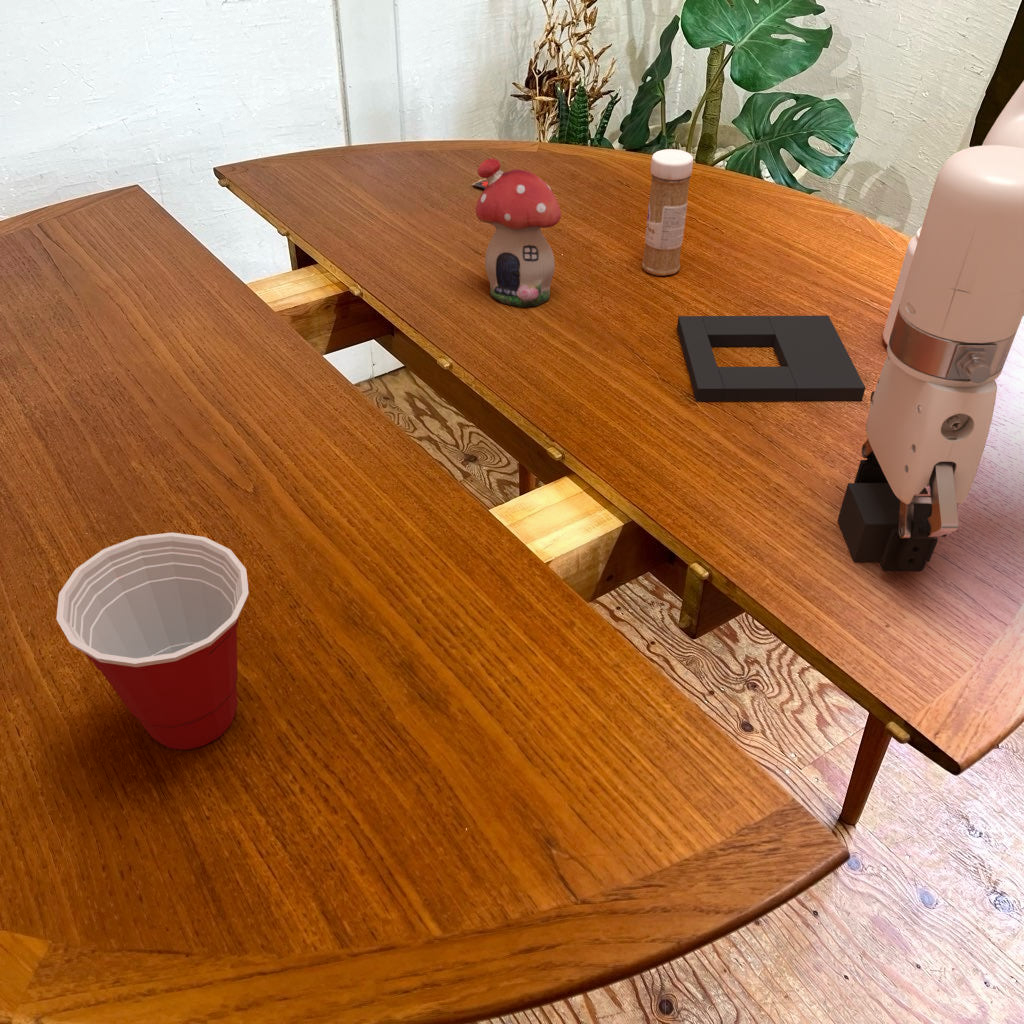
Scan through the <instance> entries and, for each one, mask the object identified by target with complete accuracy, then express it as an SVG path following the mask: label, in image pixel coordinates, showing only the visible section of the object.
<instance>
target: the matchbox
mask: <svg viewBox="0 0 1024 1024" xmlns="http://www.w3.org/2000/svg"><path fill="white" fill-rule="evenodd" d="M487 184H488V181H487V179H485V178H483V179H479V180H478V181H476V182H473V183H472V184H471V185H470V187H473V186H477V187H479V188H482V189H485V188H486V186H487Z"/></svg>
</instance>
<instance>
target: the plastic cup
mask: <svg viewBox="0 0 1024 1024" xmlns="http://www.w3.org/2000/svg"><path fill="white" fill-rule="evenodd" d="M249 593H250V592H249V582H248V574H247V568H246V567H245V565H244V564H243V563H242V562H241V560H239V558H238V557H237V556H236V554H235V553H234V552H233V550H232V549H231V548H229V547H226V546H224V545H222V544H220V543H218V542H217V541H214V540H212V539H210V538H208V537H206V536H203V535H202V536H201V535H193V534H186V533H179V532H164V533H155V534H147V535H139V536H138V535H137V536H135V537H132V538H129V539H127V540H124V541H121V542H118V543H116V544H113V545H111V546H108V547H105V548H103V549H101V550H100V551H99V552H97V553H95V554H94V555H93V556H91V557H90V558H89V559H87V560H86V561H84V562H83V563H81V564H80V565H79V566H78V567H76V568H75V569H74V571H73V572H72V573H71V575H70V577H69V578H68V580H67V581H66V583H65V584H64V585H63V586H62V588H61V590H60V591H59V592H58V599H57V610H56V621H57V623H58V625H59V626H60V628H61V630H62V632H63V633H64V636H65V637H66V640H68V643H69V644H70V645H71V646H72V647H73V648H74V649H76V650H78V651H80V652H82V653H83V654H85V655H86V657H87V659H88V660H90V661H92V663H93V665H94V666H95V668H96V669H97V670H98V671H100V672H101V674H102V675H103V676H104V677H105V679H106V680H107V681H108V683H109V684H110V686H111V687H112V688H113V690H114V691H115V692H116V694H117V695H118V697H119V698H120V699H121V701H122V702H123V703H124V704H125V707H126V708H127V709H128V710H129V711H130V713H131V714H132V716H133V717H134V718H136V719H138V721H139V722H140V723H141V726H143V728H144V729H145V731H146V732H147V733H148V735H149V736H150V737H151V738H152V739H154V740H155V741H156V742H157V743H159V744H160V745H162V746H164V747H166V748H167V749H173V750H182V751H187V750H188V751H189V750H192V749H197V748H201V747H204V746H206V745H209V743H212V742H213V741H215V740H217V739H219V738H220V737H221V736H223V734H224V733H225V732H226V731H227V730H228V729H229V728H230V727H231V726H232V723H233V721H234V718H235V716H236V713H237V707H238V693H237V689H238V688H237V681H238V678H239V677H238V626H239V617H240V616H241V613H242V611H243V608H244V606H245V604H246V602H247V599H248V598H249Z"/></svg>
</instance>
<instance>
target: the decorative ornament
mask: <svg viewBox="0 0 1024 1024" xmlns="http://www.w3.org/2000/svg"><path fill="white" fill-rule="evenodd" d="M477 175H478V176H479V177H480V178H483V179H487V181H488V184H487V186H486V188H484V189H483V191H482V193H481V194H480V195H479V197H478V199H477V202H476V205H475V215H476V218H477V220H479V221H480V222H482V223H485V224H490V225H492V226H493V227H494V228H495V231H494V233H493V235H492V236H491V238H490V240H489V242H488V245H487V248H486V250H485V256H484V267H485V272H486V275H487V279H488V281H489V286H490V287H489V288H490V292H489V294H490V296H491V297H493V298H494V299H495V300H496V301H498V302H500V303H501V304H504V305H509V306H514V307H517V308H518V307H519V308H526V307H536V306H539V305H542V304H543V303H545V302H548V300H549V298H550V295H551V285H552V280H553V278H554V274H555V266H556V262H555V255H554V253H553V250H552V246H551V245H550V244H549V242H548V240H547V238H546V237H545V235H544V234H543V232H542V230H541V229H547V228H552V227H554V226H556V225H557V224H559V222H560V220H561V217H562V212H561V208H560V204H559V202H558V199H557V198H556V196H555V195H554V192H553V191H552V189H551V187H550V185H549V184H548V183H546V182H545V181H544V180H543V179H541V177H539V176H537V175H536V174H534V173H533V172H531V171H528V170H525V169H519V168H517V169H516V168H515V169H512V170H508V171H502V170H501V163H500V161H499V160H498V159H496V158H494V157H493V158H487V159H485V160H484V161H482V162H481V163H480V164H479V165H478V168H477Z"/></svg>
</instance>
